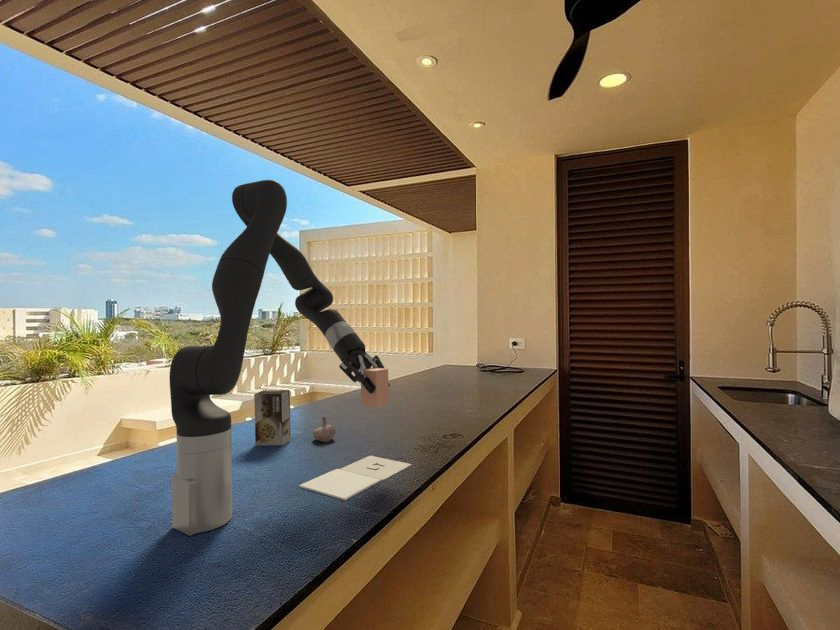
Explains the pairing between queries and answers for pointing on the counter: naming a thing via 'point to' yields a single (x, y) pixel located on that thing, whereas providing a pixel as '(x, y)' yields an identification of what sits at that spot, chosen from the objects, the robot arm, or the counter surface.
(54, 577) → the counter surface
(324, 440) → the garlic bulb
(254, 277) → the robot arm
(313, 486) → the beige board
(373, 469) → the cream tile
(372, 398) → the block
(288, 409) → the coffee box
